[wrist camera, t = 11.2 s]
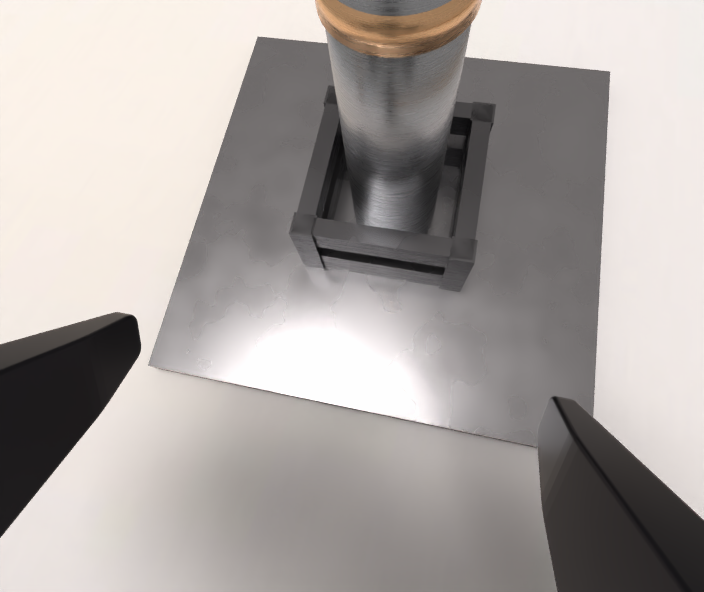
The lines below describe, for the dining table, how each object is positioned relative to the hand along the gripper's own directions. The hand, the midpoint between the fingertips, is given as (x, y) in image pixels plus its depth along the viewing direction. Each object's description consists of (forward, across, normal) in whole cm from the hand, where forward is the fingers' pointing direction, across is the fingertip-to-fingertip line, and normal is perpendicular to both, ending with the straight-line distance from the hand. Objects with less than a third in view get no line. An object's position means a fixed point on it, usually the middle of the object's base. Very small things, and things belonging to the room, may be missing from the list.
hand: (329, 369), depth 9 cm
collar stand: (+15, 0, +1) cm, 15 cm away
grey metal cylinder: (+14, 0, +1) cm, 15 cm away
